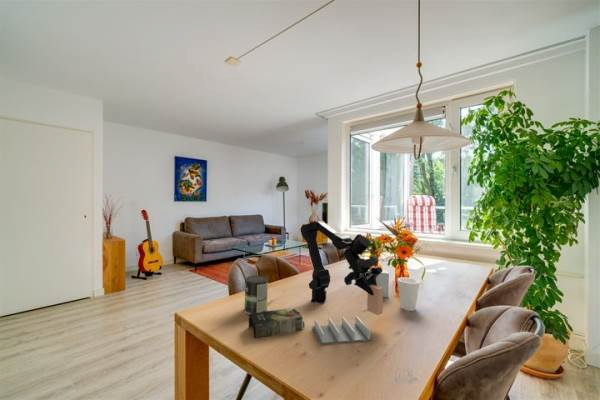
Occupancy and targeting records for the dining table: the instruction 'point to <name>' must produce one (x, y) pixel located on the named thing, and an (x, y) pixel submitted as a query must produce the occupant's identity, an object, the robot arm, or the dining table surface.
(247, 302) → the coffee can
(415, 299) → the foam cup
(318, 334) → the rack
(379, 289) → the salmon rectangular block
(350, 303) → the dining table surface
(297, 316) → the juice carton
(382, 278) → the supplement box
